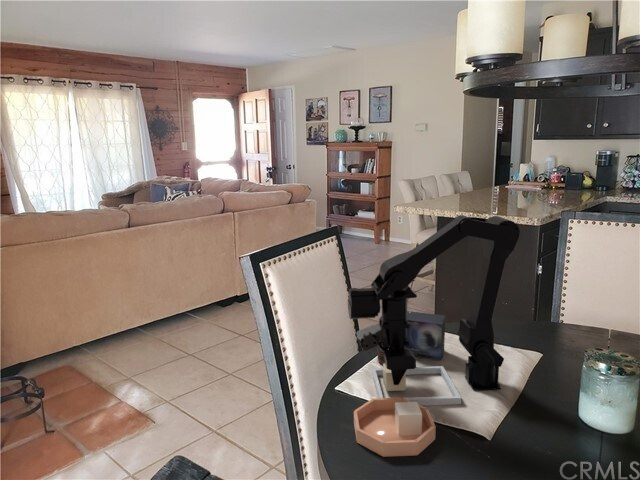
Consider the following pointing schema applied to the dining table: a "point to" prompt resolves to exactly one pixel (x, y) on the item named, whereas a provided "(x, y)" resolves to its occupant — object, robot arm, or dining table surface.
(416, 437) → the bowl
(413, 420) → the pale stone
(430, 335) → the small box
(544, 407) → the dining table surface
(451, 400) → the tray
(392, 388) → the sand stone
